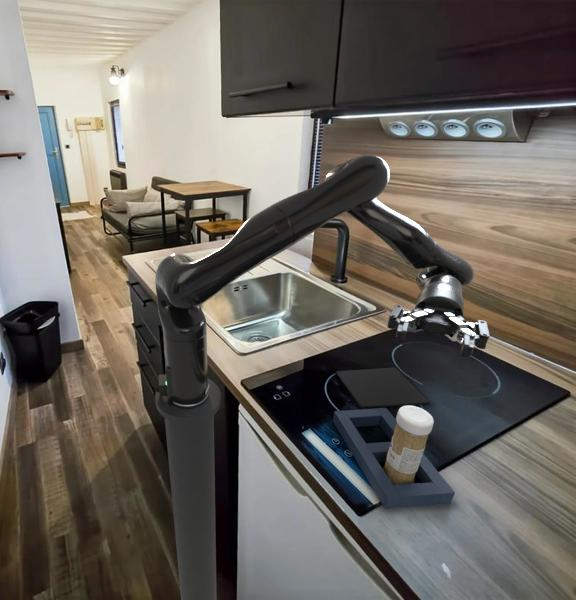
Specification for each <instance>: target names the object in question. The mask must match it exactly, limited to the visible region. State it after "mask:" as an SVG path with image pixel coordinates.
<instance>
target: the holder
mask: <svg viewBox="0 0 576 600" xmlns="http://www.w3.org/2000/svg"><path fill="white" fill-rule="evenodd" d="M332 423H333V424H334V426H335V427H336V429H337V431H338V432H339V434H340V437H342V440H343V441H344V442H345V444H346V446H347V447H348V449H349V451H350V453H351V454H352V456H353V458H354V459H355V461H356V463H357V464H358V466H359V468H360V469H361V472H362V473H363V474H364V476H365V478H366V480H367V481H368V483H369V485H370V486H371V488H372V490H373V491H374V493H375V495H376V497H377V499H378V500H379V502H380V504H381V506H382V507H383V509H397V508H399V509H400V508H410V507H413V508H414V507H425V506H439V505H451V504H452V501H453V499H454V497H455V494H456V492H455V490H453V489H452V487H451V486H450V485H449V484H448V482H447V481H446V480H445V478H444V477H443V476H442V475H441V474H440V472H439V471H438V470H437V468H436V467H435V466H434V465H433V464H432V462H431V461H430V460H429V459H428V458H427V456H426V455H425V453H423V455H422V458H421V461H420V464H419V467H418V470H417V471H416V474H415V477H416V478H418V480H419V481H420V482H416V483H415V482H414V483H413V484H400V485H393V484H392V483H391V481H390V480H389V478H388V477H387V475H386V474H385V472H384V470H383V467H382V466H381V465H380V463H384V462H385V463H386V459H387V454H388V451H389V447H390V444H391V440H392V437H393V434H394V431H395V427H396V423H397V421H396V417H395V416H394V415H393V414H392V413H391V412H390V411H389V410H388V408H387V407H375V408H360V409H349V410H348V409H347V410H336V411H335V410H333V417H332ZM375 426H379V428H380V429H381V430H382V431H383V433H384V434H385V435H386V437H387V438H388V440H390V441H383V442H380V441H379V442H367V443H366V441H365V440H364V438H363V437H362V435H361V434H360V432H359V431H358V429H357V428H359V427H375Z"/></svg>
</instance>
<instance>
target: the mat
mask: <svg viewBox="0 0 576 600" xmlns="http://www.w3.org/2000/svg"><path fill="white" fill-rule="evenodd" d="M335 374H336V375H337V377H338V379H339V380H340V381H341V383H342V384H343V385H344V387H345V388H346V389H347V391H348V392H349V393H350V395H351V397H352V398H353V399H354V401H355V402H356V403H357V405H358V406H359V408H360V409H375V408H387V407H388V408H389V407H403V406H407V405H410V406H416V405H428V404H430V401H429V400H428V399H427V398H426V397H425V396H424V395H423V394H422V393H421V392H420V390H418V389H417V388H416V387H415V386H414V385H413V384H412V383H411V382H410V381H409V379H407V378H406V377H405V376H404V374H402V373H401V371H399V370H398V368H396V367H380V368H367V369H365V368H364V369H352V370H338V371H337V370H336V371H335Z"/></svg>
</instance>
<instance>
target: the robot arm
mask: <svg viewBox="0 0 576 600" xmlns="http://www.w3.org/2000/svg"><path fill="white" fill-rule="evenodd" d="M390 174H391V173H390V167H389V165H388V163H387V162H386V161H385V160H384V159H383V158H381V157H380V156H376V155H372V154H363V155H358V156H356V157H353V158H350V159H348V160H346V161H345V162H341V163H340V164H337V165H336V166H334V167H333V168H331V170H329V171H328V173H326V176H325V178H324V181H323V182H321V183H318V184H317V185H315V186H313V187H309V188H308V189H305V190H302V191H300V192H297V193H295V194H292V195H290V196H288V197H286V198H282V199H281V200H278V201H277V202H275V203H273V204H271V205H269V206H266V207H265V208H264V209H262V210H260V211H258V212H256V213H255V214H253V215H251V216H250V217H249V218H248V219H246V221H244V222H243V223H242V224H241V226H240V227H239V229H237V231H236V232H235V234H234V235H233V236H232V237H231V238H230V240H229V241H228V242H227V243H226V244H225V245H223V246H222V247H221V248H219V249H218V250H216V251H213V252H212V253H211V254H209V255H206V256H205V257H203V258H200V259H198V260H194V259H193V258H192V257H190V256H189V255H187V254H183V253H173V254H169V255H167V256H166V257H164V258H163V259H162V260H161V262H160V263H159V264H158V266H157V268H156V272H155V279H154V280H155V281H154V282H155V283H154V284H155V292H156V293H155V295H156V301H157V311H158V316H159V319H160V324H161V328H162V338H163V349H164V351H163V352H164V362H165V364H164V365H165V366H164V367H165V368H164V369H165V374H163V373H162V374H158V383H157V384H156V385H154V391H155V393H156V392H159V395H160V396H168V405H174V406H176V407H179V408H184V409H191V408H196V407H199V406H201V405H202V404H204V403H205V402H206V400H207V399H208V389H209V385H208V379H209V378H208V375H209V373H208V336H207V335H208V333H207V318H206V315H205V314H204V311H203V309H202V305H203V304H205V303H206V302H207V301H209V300H211V298H213V297H214V296H216V295H217V294H218V293H220V292H221V291H223V290H224V289H225V288H226V287H228V286H229V285H230V284H232V283H233V282H235V281H236V280H238V279H239V278H240V277H243V276H244V275H245V274H247V273H249V272H251V271H252V270H254V269H255V268H257V267H258V266H260V265H262V264H263V263H265V262H266V261H268V260H270V259H272V258H274V257H275V256H278V255H280V254H281V253H282V252H284V251H286V250H288V249H290V248H291V247H293V246H294V245H296V244H297V243H299V242H300V241H302V240H303V239H305V238H307V237H308V236H310V235H311V234H313V233H314V232H316V231H317V230H319V229H320V228H323V226H325V225H326V224H328V223H329V222H331V221H332V220H334V219H335V218H337V217H339V216H341V215H342V214H344V213H347V214H349V215H350V216H351V217H352V218H354V219H355V220H357V221H358V222H359V223H361V224H362V225H363V226H364V227H366V228H367V229H369V231H371V232H372V233H373V234H374V235H376V236H377V237H379V239H381V240H382V241H383V243H385V244H386V245H387V246H388V247H389V248H390V249H391V250H392V251H393V252H394V253H395V254H396V255H397V257H399V258H400V259H401V261H403V262H404V263H405V264H406V265H407V266H408V267H409V268H410V269H413V270H422V271H420V272H419V273H418V274H417V275H416V276H415V282H416V283H415V284H416V286H417V287H418V289H419V290H420V292H419V293H418V295H417V299H416V302H415V306H414V308H413V309H411V310H407V309H404V308H403V307H404V306H403V305H402V304H395V306H394V307H393V308H392V311H391V312H390V314H389V317H388V322H387V325H386V327H387V329H390V330H394V329H396V334H395V339H398V342H401V343H405V340H406V336H407V333H410V332H411V333H412V334H414V333H418V332H419V333H420V332H427V333H435V334H438V335H442V336H445V337H446V338H448V339H449V340H450V341H452V342H453V343H458V344H459V345H460V356H461V357H465V358H466V357H467V356H472V355H473V352H474V349H475V348H478V349H480V350H485V349H486V348H487V344H488V341H489V339H490V331H489V326H488V322H487V321H486V320H482V319H478V320H477V322H469V321H467V320H466V319H465V318H464V308H465V307H464V303H465V300H464V296H463V288H464V287H466V286H468V285H470V284H471V283H472V282H473V280H474V279H475V271H474V269H473V267H472V265H471V264H470V263H469V262H468V261H467V260H465V258H462V256H459V255H457V254H456V253H453V252H451V251H449V250H447V249H445V248H444V247H442V246H441V245H439V244H438V243H437V242H436V240H434V239H433V238H432V237H431V235H430V234H429V233H428V232H427V231H426V229H424V228H423V227H422V226H421V225H420V224H418V222H415V221H414V220H412V219H410V218H409V217H407V216H405V215H403V214H401V213H399V212H397V211H395V210H393V209H392V208H390V207H389V206H387V205H385V204H384V203H383V202H382V201H380V200H379V199H378V197H379V196H380V195H382V193H383V192H384V191H385V189H386V188H387V186H388V184H389V180H390Z"/></svg>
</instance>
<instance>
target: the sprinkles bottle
mask: <svg viewBox="0 0 576 600" xmlns="http://www.w3.org/2000/svg"><path fill="white" fill-rule="evenodd" d="M395 419H396V421H397V423H396V427H395V431H394V434H393V437H392V440H391V441H390V442H391V444H390V447H389V451H388V454H387V459H386V462H385V463H384V466H383V467H382V469H383V470H384V472H385V474H386V475H387V477H388V478H389V480H390V481H391V483H392V484H393V485H400V484H414V483H415V477H416V471H417V470H418V467H419V464H420V461H421V458H422V455H423V454H424V452H425V449H426V444H427V442H428V441H427V440H428V438H429V436H430V433H431V432H432V431H433V427H434V423H435V420H434V417H433V416H432V414H431V413H430V412H428V411H427V410H425V409H423V408H421V407H419V406H416V405H404V406H400V407H399V409H398V410H397V413H396V417H395Z"/></svg>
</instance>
